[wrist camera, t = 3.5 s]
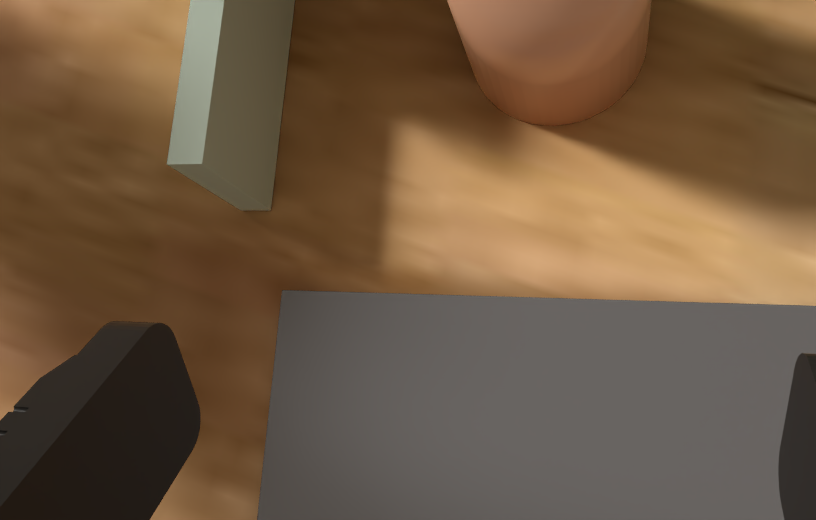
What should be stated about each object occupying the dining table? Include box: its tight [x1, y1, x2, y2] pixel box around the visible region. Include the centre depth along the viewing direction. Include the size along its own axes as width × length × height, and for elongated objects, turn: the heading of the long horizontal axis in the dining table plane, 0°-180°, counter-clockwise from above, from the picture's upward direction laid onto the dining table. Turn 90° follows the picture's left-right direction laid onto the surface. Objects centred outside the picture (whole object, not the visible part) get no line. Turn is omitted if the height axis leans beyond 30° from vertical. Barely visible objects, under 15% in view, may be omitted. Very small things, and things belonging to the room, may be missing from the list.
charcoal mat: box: [257, 290, 816, 520], centre depth 23 cm, size 18×12×1 cm, turn 85°
